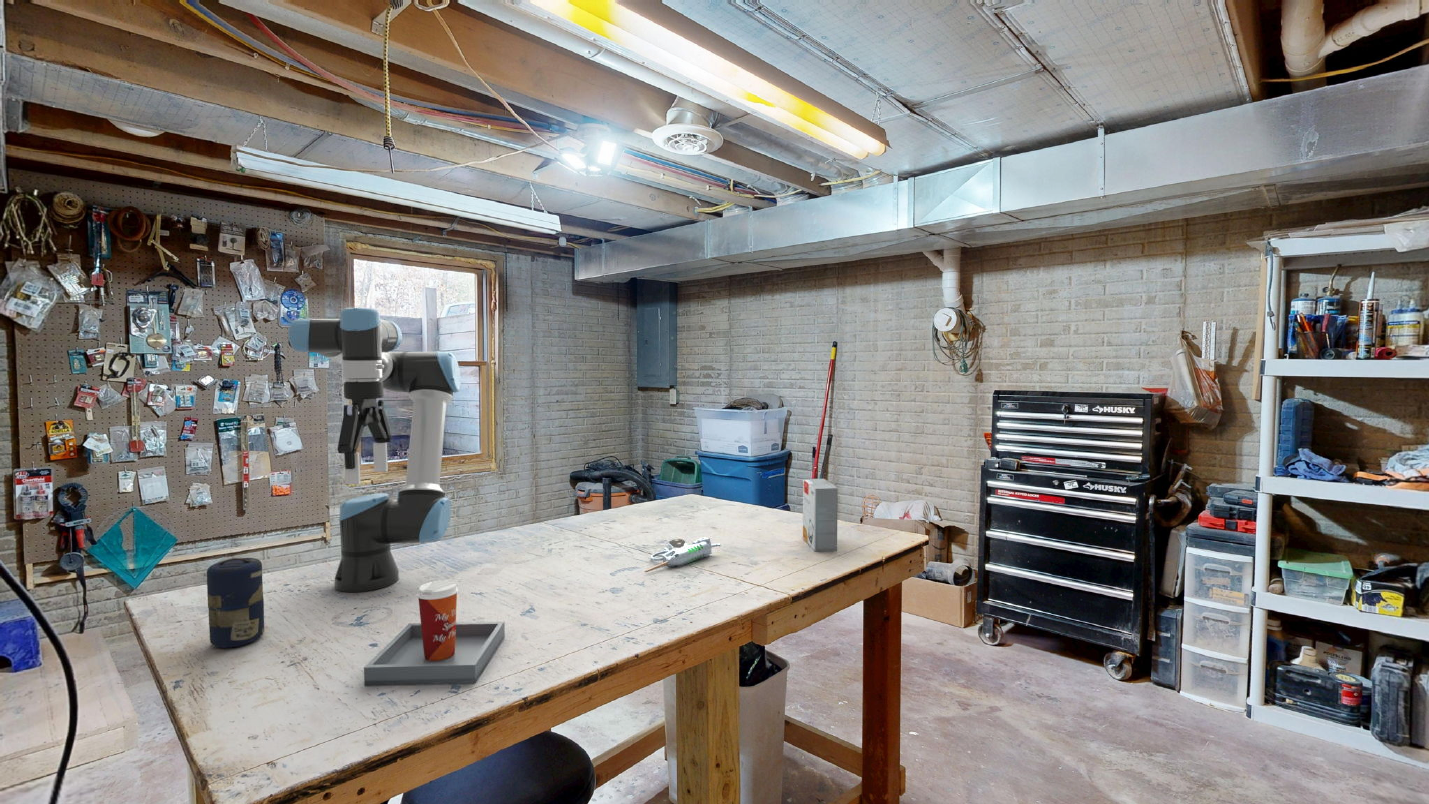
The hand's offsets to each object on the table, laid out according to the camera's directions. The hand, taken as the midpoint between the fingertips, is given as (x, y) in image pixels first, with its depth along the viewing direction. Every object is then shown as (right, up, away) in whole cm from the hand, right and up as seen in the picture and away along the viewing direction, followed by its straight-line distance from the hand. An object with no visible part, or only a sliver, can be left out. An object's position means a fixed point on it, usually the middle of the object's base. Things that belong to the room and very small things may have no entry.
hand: (367, 477), depth 144 cm
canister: (-25, -34, -4) cm, 43 cm away
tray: (+21, -35, -13) cm, 43 cm away
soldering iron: (+63, -31, +52) cm, 87 cm away
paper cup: (+21, -34, -13) cm, 42 cm away
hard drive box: (+110, -30, +68) cm, 132 cm away
